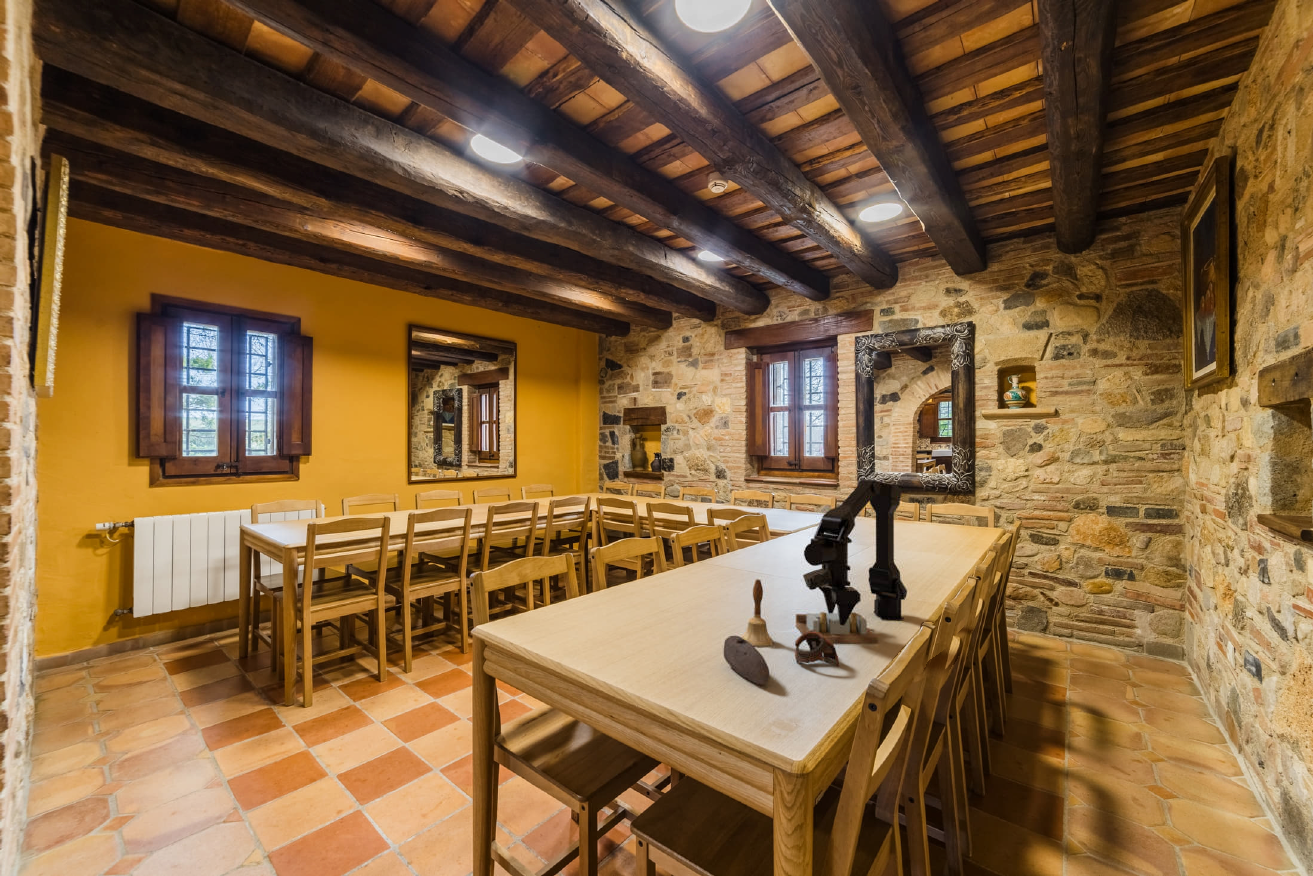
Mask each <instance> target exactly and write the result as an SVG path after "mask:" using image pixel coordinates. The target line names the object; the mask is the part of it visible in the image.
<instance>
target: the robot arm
mask: <svg viewBox="0 0 1313 876" xmlns="http://www.w3.org/2000/svg"><path fill="white" fill-rule="evenodd" d="M901 497H902V490H901V488H900V487H899V486H898V484H896V483H892V482H891V483H888V482H887V483H886V482H885V483H884V482H880V481H878V480H875V479H861V480H859V482H858V485H857V487H855V488H854V490H853V491H852V492H851V493H850V494H849V496H847V498H846V499H845V500H844V501H843V502H842V503H841V504H840V505H839V506H836V507H834V508H831V509H829V510H828V511H827V512H826V513H825V512H824V514H823V515H822V517H821V520H820V522H819V524H818V526H817V528H816V531H815V533H814V536H813V538H811V539H810V543H808V544H807V545H806V546H805V547H804V548H805V549H804V550H803V556H804V559H805V561H806V562H807V564H809V565H811V566H814V567H816V566H821V568H819V569H815V570H812V571H810V572H806V573H804V574H803V575H802V576H803V580H804V582H805V585H806V586H805V587H807V588H809V589H808V590H810V591H812V590H817V588H818V589H819V590H820V592H822V594H823V597H824V602H825V605H826V609H827V613H835V612H834V610H835V609H836V608H837V613H838V615H839V621H840V625H845V623H846V622H847V620H848V618H849V616H850V614H851V612H853V611H854V609H855V607H856V605H858V604H859V603H860V602H861V599H862V598H861V593H860V592H859V591H858V590H857V589H856V588H854V587H852V586H851V582H850V581H849V580H848V579H849V573H848V571H851V566H850V565H849V564H848V563H849V561H848V559H849V557H848V556H849V553H848V551H849V548H848V547H849V545H848V544H851V543H852V542H853V540H852V539H851V538H850V537H849V536H850V534H851V533H852V531H853V530H854V528H855V527H856V521H855V519H856V518H857V516H858V515H859V514H860V512H862V510H863V509H864V508H865V507H866V506H867V504H868V503H869V504H870V506H871V508H873V511H874V512H875V562H874V564H873V565H872V566H871V567H869V569H868V584H869V589H870V592H871V594H872V595H875V599H874V601H873V602H874V604H873V605H874V606H873V607H874V608H873V609H874V610H873V614H874V615H875V616H877V617H878V618H880V619H881V620H883V621H884V620H887V621H888V620H889V621H890V620H891V619H893V621H894V619H895V620H897V619H904V620H905V618H904V617H903V615H902V601H903V600H906V599H907V595H908V589H907V588H906V587H905V585H904V583H903V581H902V579H901V571H900V570H899V568H898V566H897V565H896V563H895V537H894V536H895V534H894V533H895V532H894V531H895V529H894V528H895V526H894V524H895V522H894V521H895V515H894V514H895V512H896V511H897V509H898V508H899V506H900V504H901Z"/></svg>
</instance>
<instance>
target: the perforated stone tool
mask: <svg viewBox="0 0 1313 876" xmlns="http://www.w3.org/2000/svg"><path fill="white" fill-rule="evenodd" d="M741 637H742V636H740V635H729V636H728V637H727V638H726V639H725V640H724V642H723V643H724V644H723V657H724V659H725V661H726V663H727V664H728V665H729V666H730V667H731V668H732V669H733V671H734V672H736V673H737V674H739V675H740V676H742V677H743V678H745V679H747V680H748V681H750V682H751V683H754V684H756V685H758V686H759V685H760V686H765V685H766V684H768V683H769V681H770V677H771V675H770V674H771V673H770V669H769V666H768V664H767V661H766V660H765V658H764V656H763V655H762V654H761V652H760V651H759V650H758V649H757V647H754V646H753V645H752V644H751V643H749V642H748V641H746V640H744V639H743V638H741Z"/></svg>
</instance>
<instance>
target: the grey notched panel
mask: <svg viewBox="0 0 1313 876" xmlns="http://www.w3.org/2000/svg"><path fill="white" fill-rule="evenodd" d="M825 613H826V630H827V631H828V632H829V633H830V634H850V616H849V618H848V620H847V622H846V623H845V625H840V621H839V615H838V612H837V613H835V612H833V613H828V612H825ZM856 613H857V612H856ZM806 614H807V627H808V628H809V630H810V631H811V630H814V631H816V632H819V630H820V612H817V613H814V612H813V613H811V612H810V613H806ZM860 615H861V614H860ZM860 615H859V613H857V631H858V632H859V633H860V634H867V628H868V627H867V626H868V623H867V620H866V619H865V618H864V617H863V616H862V615H861V616H862V617H861V616H860Z"/></svg>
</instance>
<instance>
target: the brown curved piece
mask: <svg viewBox="0 0 1313 876" xmlns="http://www.w3.org/2000/svg"><path fill="white" fill-rule="evenodd" d="M819 639H821V641H820V640H819ZM804 641H805V642H806V643H807V645H808V647H809V650H807V651H805V650H802V649H800V648H799V647H800V645H801V644H802V643H804ZM794 645H795V649H794V650H795V653H794V657H795V662H796V663H797V664H799V663H805V664H809V663H815V662H817V661H821V662H822V663H823V662H825V660H824V659H830V660H834V661H835V663H836V666H837V668H839V667H840V662H839V661H840V659H839V656H838V653H837V649H836V647H835V645H834V643H832V642H831V641H830V640H829V639H827V638H826V637H824V636H823V635H822V634H821V633H819V632H816V631H814V630H811V631H809V632H807V633H804V634H803V635H802V634H801V635H800V636H799V637H797V638H796V640H795V642H794Z"/></svg>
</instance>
